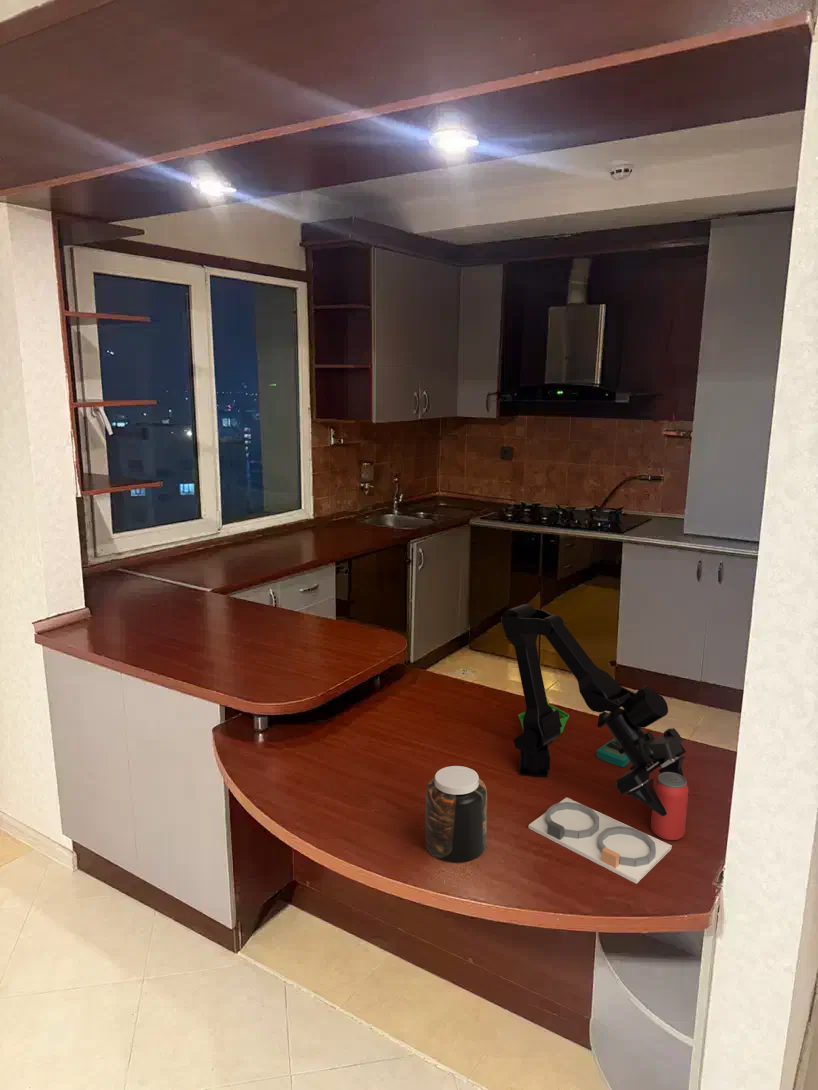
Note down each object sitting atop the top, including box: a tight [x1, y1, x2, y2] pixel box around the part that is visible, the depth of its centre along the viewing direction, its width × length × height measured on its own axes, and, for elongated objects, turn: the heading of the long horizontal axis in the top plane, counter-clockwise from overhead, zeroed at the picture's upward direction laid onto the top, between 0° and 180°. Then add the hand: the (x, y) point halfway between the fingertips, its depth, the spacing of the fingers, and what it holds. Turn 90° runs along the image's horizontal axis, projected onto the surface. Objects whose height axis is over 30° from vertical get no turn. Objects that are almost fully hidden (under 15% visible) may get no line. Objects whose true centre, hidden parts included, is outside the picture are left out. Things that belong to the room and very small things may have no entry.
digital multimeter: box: [596, 737, 631, 768], centre depth 182 cm, size 7×15×3 cm, turn 137°
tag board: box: [528, 797, 673, 885], centre depth 148 cm, size 24×14×3 cm, turn 45°
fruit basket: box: [517, 696, 570, 734], centre depth 191 cm, size 11×9×11 cm
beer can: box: [650, 772, 689, 841], centre depth 149 cm, size 7×7×12 cm
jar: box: [425, 765, 488, 864], centre depth 145 cm, size 12×12×15 cm
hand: (676, 805), depth 148 cm, fingers open, 9 cm apart
